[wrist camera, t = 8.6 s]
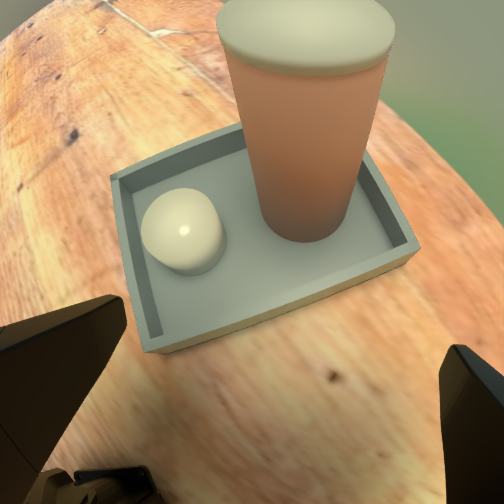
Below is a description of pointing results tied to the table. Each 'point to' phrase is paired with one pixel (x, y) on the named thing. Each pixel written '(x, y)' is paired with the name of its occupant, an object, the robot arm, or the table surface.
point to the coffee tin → (305, 102)
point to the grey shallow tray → (245, 245)
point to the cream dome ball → (184, 232)
